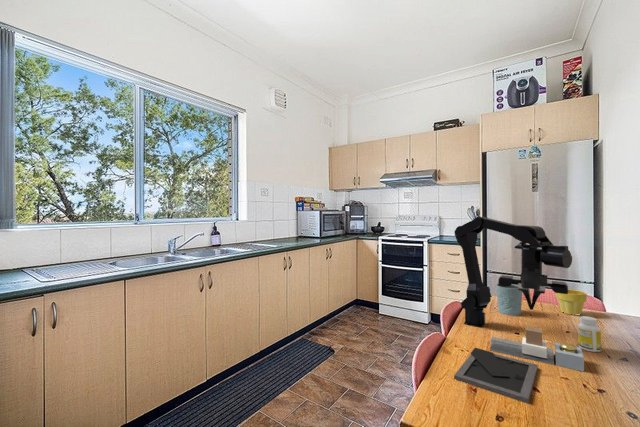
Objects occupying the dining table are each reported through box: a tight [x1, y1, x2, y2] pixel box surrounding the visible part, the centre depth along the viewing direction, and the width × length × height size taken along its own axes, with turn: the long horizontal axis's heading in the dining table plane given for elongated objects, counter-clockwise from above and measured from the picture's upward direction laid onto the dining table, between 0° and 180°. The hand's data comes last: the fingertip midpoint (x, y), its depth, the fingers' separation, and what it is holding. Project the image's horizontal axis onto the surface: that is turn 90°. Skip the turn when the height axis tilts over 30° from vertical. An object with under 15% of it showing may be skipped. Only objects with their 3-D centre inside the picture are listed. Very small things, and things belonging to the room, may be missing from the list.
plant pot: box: [555, 288, 587, 315], centre depth 131 cm, size 10×10×10 cm
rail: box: [489, 336, 555, 366], centre depth 93 cm, size 16×8×3 cm, turn 53°
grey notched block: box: [554, 342, 585, 372], centre depth 86 cm, size 6×8×4 cm
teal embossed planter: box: [495, 283, 523, 317], centre depth 133 cm, size 10×10×12 cm
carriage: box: [521, 326, 548, 358], centre depth 91 cm, size 6×6×7 cm
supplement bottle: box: [577, 315, 602, 353], centre depth 95 cm, size 5×5×10 cm
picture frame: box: [453, 347, 539, 404], centre depth 80 cm, size 16×2×21 cm
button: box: [560, 342, 578, 353], centre depth 86 cm, size 4×4×4 cm
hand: (531, 309), depth 100 cm, fingers closed
